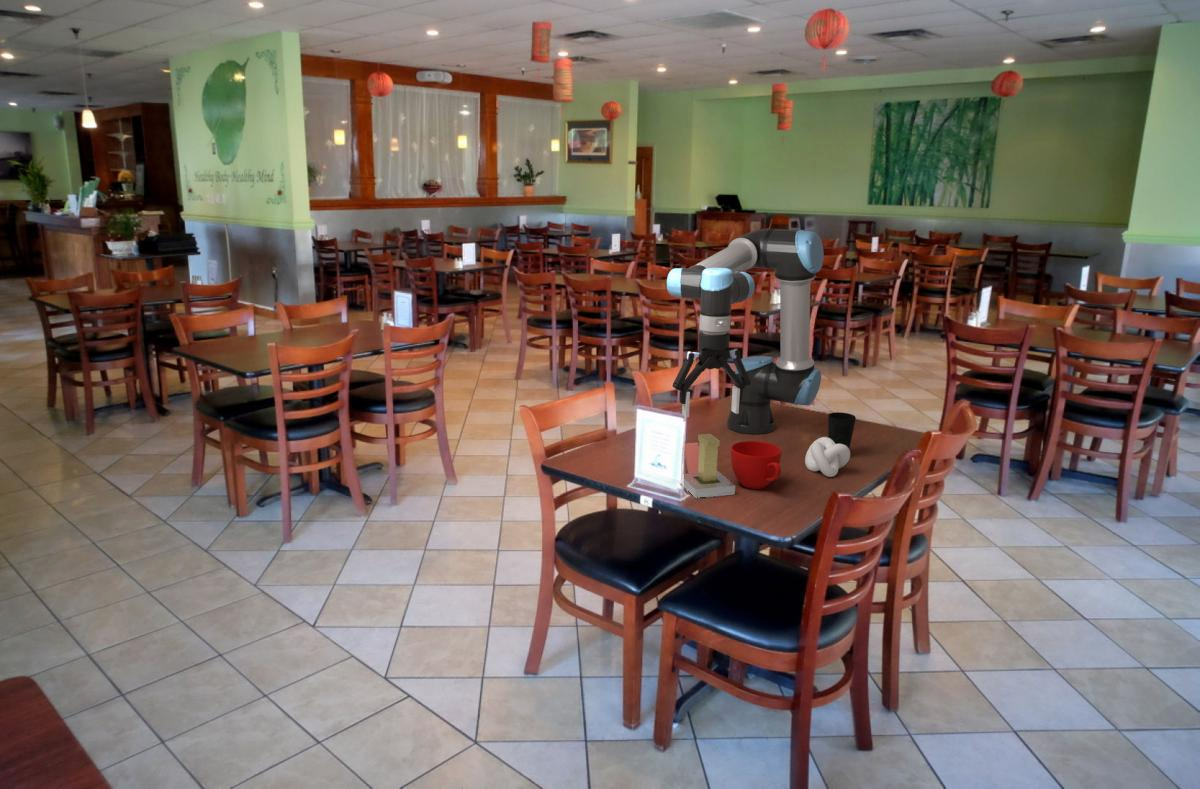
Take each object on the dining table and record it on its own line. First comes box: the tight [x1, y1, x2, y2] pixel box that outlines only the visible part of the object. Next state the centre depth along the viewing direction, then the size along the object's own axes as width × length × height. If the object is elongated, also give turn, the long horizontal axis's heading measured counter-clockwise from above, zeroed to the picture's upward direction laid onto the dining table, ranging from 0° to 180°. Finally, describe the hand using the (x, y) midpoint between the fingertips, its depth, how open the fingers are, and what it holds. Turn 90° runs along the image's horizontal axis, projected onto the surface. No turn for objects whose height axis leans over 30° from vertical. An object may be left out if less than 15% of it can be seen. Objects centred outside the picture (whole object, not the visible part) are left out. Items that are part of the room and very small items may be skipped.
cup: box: [827, 411, 857, 456], centre depth 236 cm, size 8×8×12 cm
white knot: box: [804, 436, 851, 478], centre depth 222 cm, size 11×12×9 cm
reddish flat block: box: [683, 441, 699, 473], centre depth 218 cm, size 10×5×2 cm
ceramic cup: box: [730, 440, 782, 490], centre depth 211 cm, size 13×17×10 cm
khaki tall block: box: [697, 433, 721, 484], centre depth 209 cm, size 6×4×14 cm, turn 16°
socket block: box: [683, 470, 736, 499], centre depth 210 cm, size 11×11×2 cm
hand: (710, 414), depth 205 cm, fingers open, 13 cm apart
